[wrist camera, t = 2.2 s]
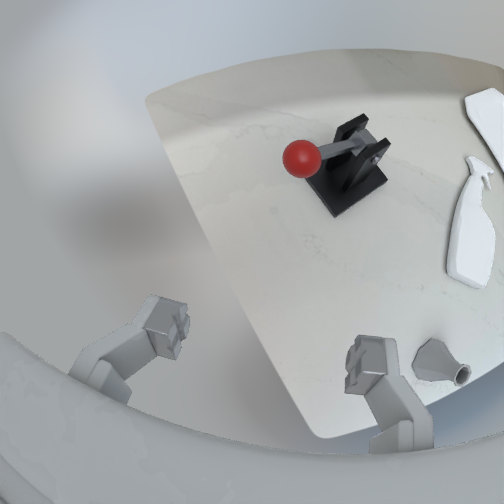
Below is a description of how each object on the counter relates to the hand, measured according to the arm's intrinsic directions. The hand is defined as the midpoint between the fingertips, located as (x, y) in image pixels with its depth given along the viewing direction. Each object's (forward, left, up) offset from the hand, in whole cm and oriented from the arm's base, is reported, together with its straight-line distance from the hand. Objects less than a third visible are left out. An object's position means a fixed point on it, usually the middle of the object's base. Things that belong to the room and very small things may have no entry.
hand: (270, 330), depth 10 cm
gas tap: (+19, +10, -29) cm, 36 cm away
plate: (+65, -3, -29) cm, 71 cm away
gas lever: (+13, +10, -17) cm, 23 cm away
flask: (+15, -23, -29) cm, 40 cm away
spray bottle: (+37, -9, -29) cm, 48 cm away
